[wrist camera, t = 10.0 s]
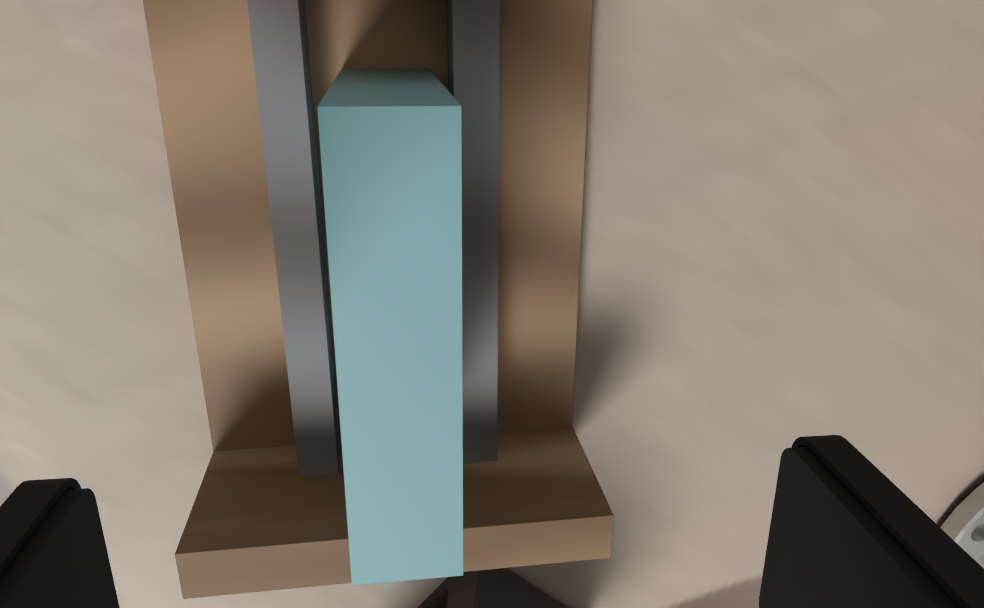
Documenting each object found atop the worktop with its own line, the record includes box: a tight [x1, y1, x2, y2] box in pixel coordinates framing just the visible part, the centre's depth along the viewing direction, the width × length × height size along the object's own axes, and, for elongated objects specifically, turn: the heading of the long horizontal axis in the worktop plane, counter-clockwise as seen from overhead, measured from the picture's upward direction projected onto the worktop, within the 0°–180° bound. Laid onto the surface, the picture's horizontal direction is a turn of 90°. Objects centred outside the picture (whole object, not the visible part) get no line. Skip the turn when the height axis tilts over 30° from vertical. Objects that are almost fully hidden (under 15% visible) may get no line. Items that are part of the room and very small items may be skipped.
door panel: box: [317, 68, 463, 585], centre depth 18 cm, size 10×2×9 cm, turn 179°
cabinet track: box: [143, 0, 614, 599], centre depth 21 cm, size 17×12×6 cm
